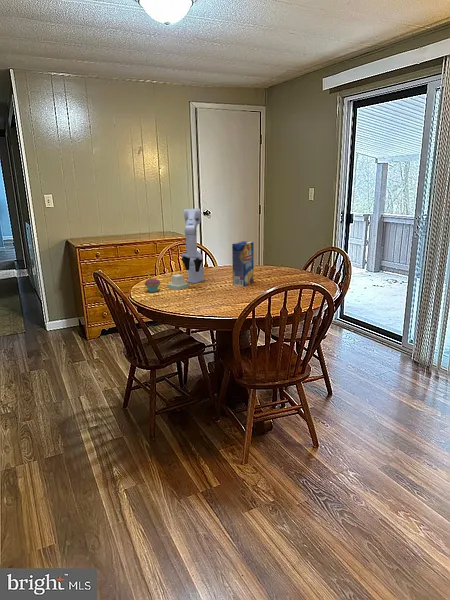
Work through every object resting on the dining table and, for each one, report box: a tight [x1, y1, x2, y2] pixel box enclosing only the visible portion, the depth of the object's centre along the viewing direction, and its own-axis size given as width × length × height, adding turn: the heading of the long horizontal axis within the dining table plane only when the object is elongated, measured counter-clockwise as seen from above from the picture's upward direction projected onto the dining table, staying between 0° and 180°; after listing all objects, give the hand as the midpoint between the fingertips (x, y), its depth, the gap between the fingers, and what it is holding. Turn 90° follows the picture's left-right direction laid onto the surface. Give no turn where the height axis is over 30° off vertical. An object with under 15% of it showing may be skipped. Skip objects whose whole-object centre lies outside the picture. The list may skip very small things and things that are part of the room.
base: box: [166, 282, 190, 291], centre depth 234 cm, size 9×9×2 cm
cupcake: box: [144, 270, 161, 293], centre depth 226 cm, size 9×8×12 cm
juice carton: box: [231, 240, 255, 287], centre depth 236 cm, size 12×8×24 cm, turn 149°
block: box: [170, 273, 185, 285], centre depth 233 cm, size 5×5×5 cm
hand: (192, 270), depth 230 cm, fingers open, 7 cm apart
